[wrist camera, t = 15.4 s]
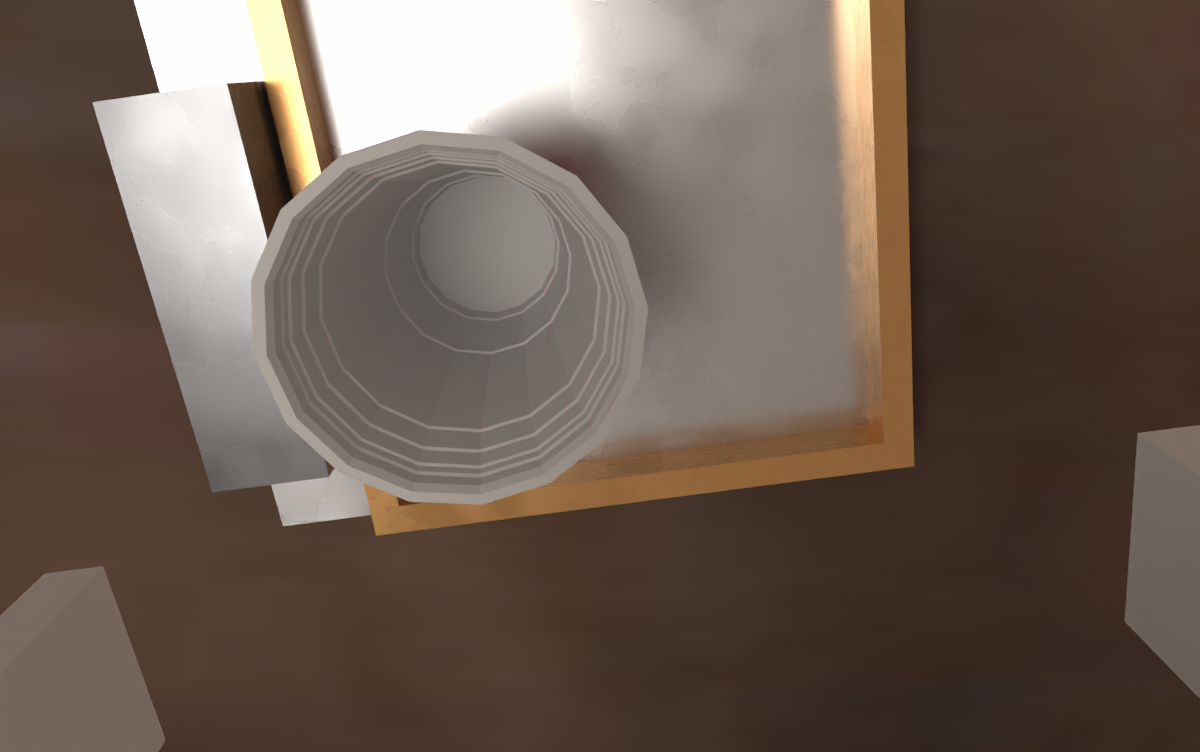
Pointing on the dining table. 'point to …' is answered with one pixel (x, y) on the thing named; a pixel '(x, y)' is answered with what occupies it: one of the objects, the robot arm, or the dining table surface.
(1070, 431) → the dining table surface
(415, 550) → the dining table surface
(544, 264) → the plastic cup
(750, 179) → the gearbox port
